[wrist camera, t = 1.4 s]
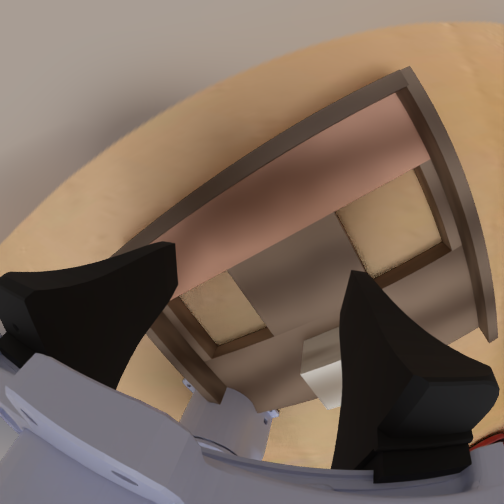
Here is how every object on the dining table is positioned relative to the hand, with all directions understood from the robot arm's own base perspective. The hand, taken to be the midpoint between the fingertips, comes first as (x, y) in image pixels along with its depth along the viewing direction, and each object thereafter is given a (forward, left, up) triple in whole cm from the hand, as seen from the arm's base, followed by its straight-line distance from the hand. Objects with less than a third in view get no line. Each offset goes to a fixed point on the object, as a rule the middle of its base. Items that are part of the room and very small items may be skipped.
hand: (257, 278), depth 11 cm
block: (-12, +1, -9) cm, 15 cm away
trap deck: (-6, +1, -11) cm, 13 cm away
